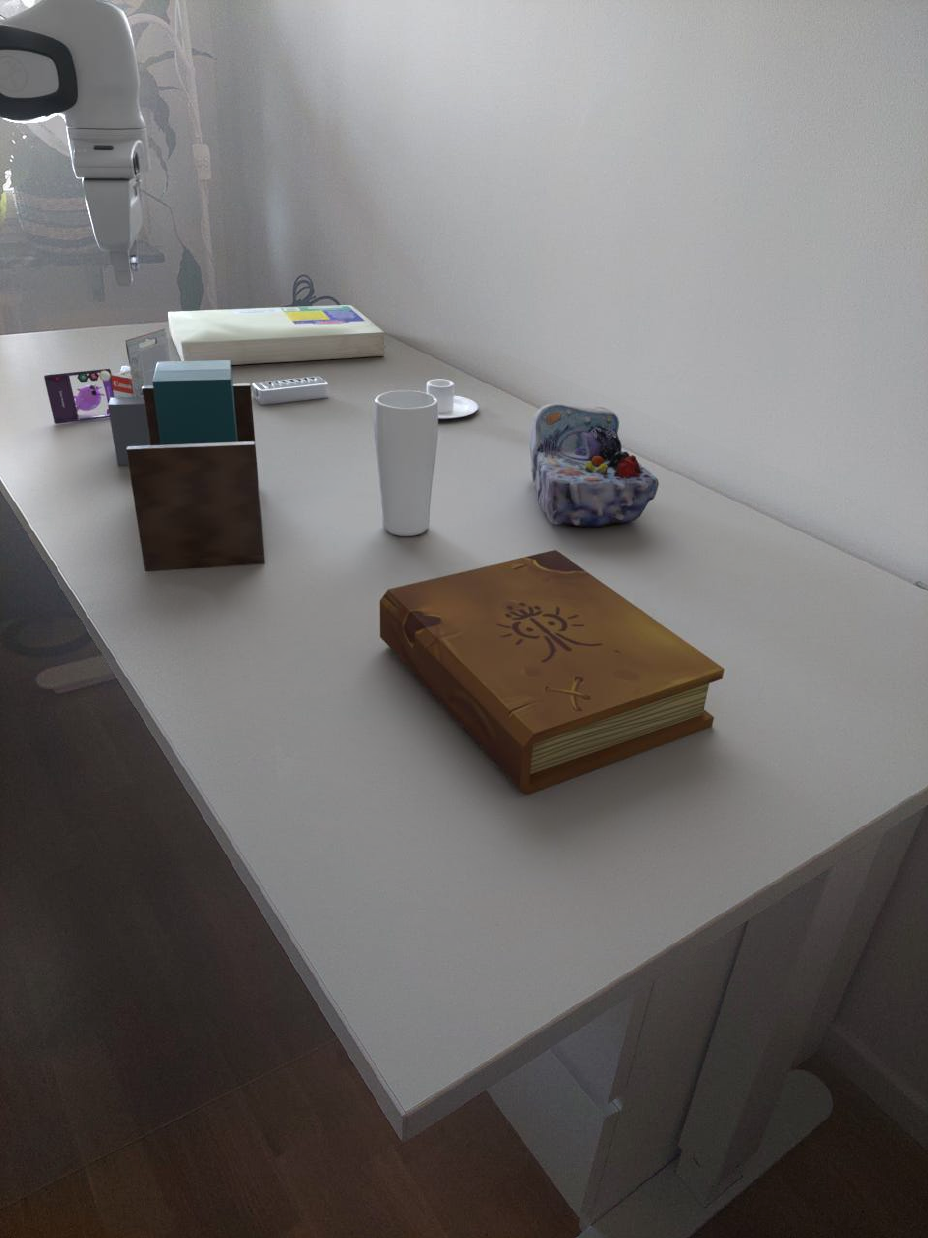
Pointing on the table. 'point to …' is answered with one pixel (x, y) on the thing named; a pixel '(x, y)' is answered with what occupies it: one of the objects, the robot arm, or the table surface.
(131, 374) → the ink box
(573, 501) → the cell model
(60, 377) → the purple monster box
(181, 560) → the book rack
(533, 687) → the diary
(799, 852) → the table surface
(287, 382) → the multiport hub
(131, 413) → the grey u-shaped block
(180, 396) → the teal tall block
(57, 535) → the table surface
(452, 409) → the candle holder
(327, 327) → the puzzle box
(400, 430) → the drinking glass
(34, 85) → the robot arm
